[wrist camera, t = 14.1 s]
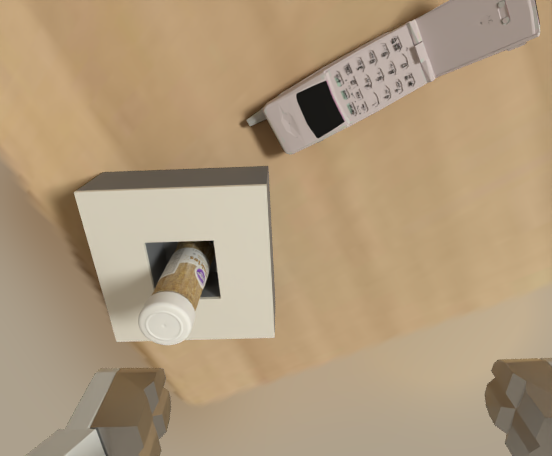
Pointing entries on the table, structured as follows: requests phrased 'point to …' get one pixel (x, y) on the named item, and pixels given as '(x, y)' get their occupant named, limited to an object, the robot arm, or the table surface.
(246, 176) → the socket block
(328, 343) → the table surface
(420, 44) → the mobile phone
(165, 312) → the sprinkles bottle
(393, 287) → the table surface
